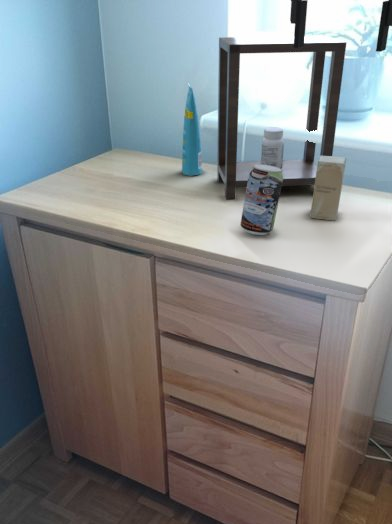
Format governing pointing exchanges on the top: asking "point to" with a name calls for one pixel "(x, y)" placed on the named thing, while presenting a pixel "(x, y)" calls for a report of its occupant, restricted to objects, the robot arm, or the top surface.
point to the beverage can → (261, 199)
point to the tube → (191, 138)
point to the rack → (306, 169)
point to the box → (328, 187)
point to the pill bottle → (272, 147)
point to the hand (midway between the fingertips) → (338, 48)
